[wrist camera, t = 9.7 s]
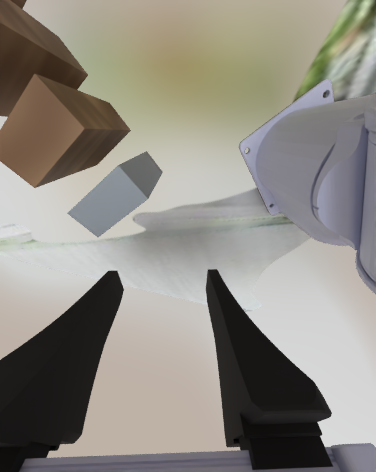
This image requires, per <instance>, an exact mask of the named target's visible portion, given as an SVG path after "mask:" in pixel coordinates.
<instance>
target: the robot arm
mask: <svg viewBox="0 0 376 472" xmlns="http://www.w3.org/2000/svg"><path fill="white" fill-rule="evenodd" d="M325 91H326V96H325V97H324V98H323V93H324V92H325ZM246 148H249V151H248V153H245V149H246ZM239 149H240V151H241V154H242V156H243V158H244V160H245V162H246V164H247V167H248V168H249V171H250V173H251V175H252V177H253V179H254V181H255V183H256V186H257V188H258V190H259V192H260V194H261V196H262V199H263V201H264V203H265V205H266V207H267V209H268V211H269V213H270V214H271V215H276V214H278V213H280V212H281V213H282V214H284V215H285V216H286V217H287V218H288V219H290V220H291V221H292V222H293V223H294V224H296V225H297V226H298V227H299V228H301V229H302V230H303V231H304V232H305V233H307V234H308V235H309V236H310V237H312V238H314V239H315V240H318V241H320V242H323V243H328V244H332V245H343V246H347V245H349V246H351V247H352V248H354V249H355V250H357V253H356V261H355V262H356V269H357V271H358V273H359V276H360V277H361V279H362V280H363V282H364V283H365V284H366V285H367V286H368V287H369V288H370V289H371V290H372V291H373V292H374V293H375V294H376V93H375V94H372V95H367V96H362V97H357V98H352V99H347V100H342V101H338V102H334V97H333V90H332V83H331V80H329V79H326V80H323V81H321V82H320V83H318V84H317V85H316V86H314V87H313V88H312V89H310V90H309V91H308V92H306V93H305V94H304V95H302V96H301V97H300V98H298V99H297V100H296V101H294V102H293V103H292V104H290V105H289V106H288V107H286V108H285V109H284V110H282V111H281V112H280V113H278V114H277V115H276V116H274V117H273V118H272V119H270V120H269V121H268V122H266V123H265V124H264V125H262V126H261V127H260V128H259V129H257V130H256V131H254V132H253V133H252V134H250V135H249V136H248V137H246V138H245V139H244V140H243V141H241V142H240V144H239ZM270 204H272V206H270ZM123 291H124V289H123V286H122V283H121V280H120V277H119V275H118V272H117V271H108V272H107V273H106V274H105V275H104V276H103V277H102V278H101V279H100V280H99V281H98V282H97V283H96V284H95V285H94V286H93V287H92V288H91V289H90V290H89V291H88V292H87V293H85V294H84V295H83V296H82V297H81V298H80V299H79V300H78V301H77V302H76V303H75V304H74V305H72V306H71V307H70V308H69V309H68V310H67V311H66V312H65V313H64V314H62V315H61V316H60V317H59V318H57V319H56V320H55V321H54V322H52V323H51V324H50V325H49V326H47V327H46V328H45V329H44V330H43V331H41V332H39V333H38V334H37V335H35V336H34V337H33V338H31V339H30V340H28V341H27V342H26V343H24V344H23V345H22V346H20V347H19V348H17V349H16V350H14V351H13V352H11V353H10V354H8V355H7V356H5V357H4V358H2V359H1V360H0V472H376V448H375V446H374V445H373V444H371V443H367V444H366V443H365V444H342V445H333V446H331V447H324V444H323V442H322V440H321V438H320V436H321V435H322V432H321V430H320V428H319V425H318V423H317V422H318V421H321V420H324V419H327V418H329V417H331V414H332V413H331V410H330V409H329V407H328V405H327V403H326V401H325V399H324V397H323V396H322V394H321V392H320V391H319V389H318V387H317V386H316V384H315V383H314V382H313V380H311V379H310V378H309V377H308V376H307V375H306V374H304V373H303V372H302V371H301V370H300V369H299V368H298V367H296V366H295V364H293V363H292V362H291V361H290V360H289V359H288V358H287V357H286V356H285V355H284V354H283V353H282V352H281V351H280V350H279V349H278V348H277V347H276V346H275V345H274V344H273V343H272V342H271V341H270V340H269V339H268V338H267V337H266V336H265V335H264V334H263V333H262V332H261V331H260V330H259V328H258V327H257V326H256V325H255V324H254V323H253V322H252V320H251V319H250V318H249V317H248V316H247V314H246V313H245V312H244V310H243V309H242V308H241V307H240V305H239V304H238V302H237V301H236V300H235V298H234V297H233V295H232V294H231V292H230V291H229V289H228V288H227V286H226V284H225V283H224V281H223V279H222V278H221V276H220V274H219V272H218V270H217V269H212V270H208V274H207V283H206V294H207V303H208V307H209V313H210V317H211V322H212V328H213V332H214V337H215V344H216V352H217V360H218V369H219V379H220V388H221V398H222V409H223V419H224V431H225V438H226V446H227V447H240V450H241V451H217V452H190V453H165V454H142V455H141V454H140V455H113V456H87V457H61V458H46V457H47V455H48V452H49V451H55V450H58V448H59V445H60V444H73V443H75V441H77V440H78V439H79V437H80V436H81V435H82V430H83V426H84V421H85V417H86V413H87V408H88V403H89V399H90V395H91V391H92V387H93V383H94V379H95V376H96V372H97V368H98V364H99V361H100V358H101V354H102V351H103V348H104V344H105V342H106V339H107V336H108V333H109V331H110V328H111V326H112V323H113V321H114V318H115V316H116V313H117V311H118V308H119V305H120V302H121V299H122V295H123Z"/></svg>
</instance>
